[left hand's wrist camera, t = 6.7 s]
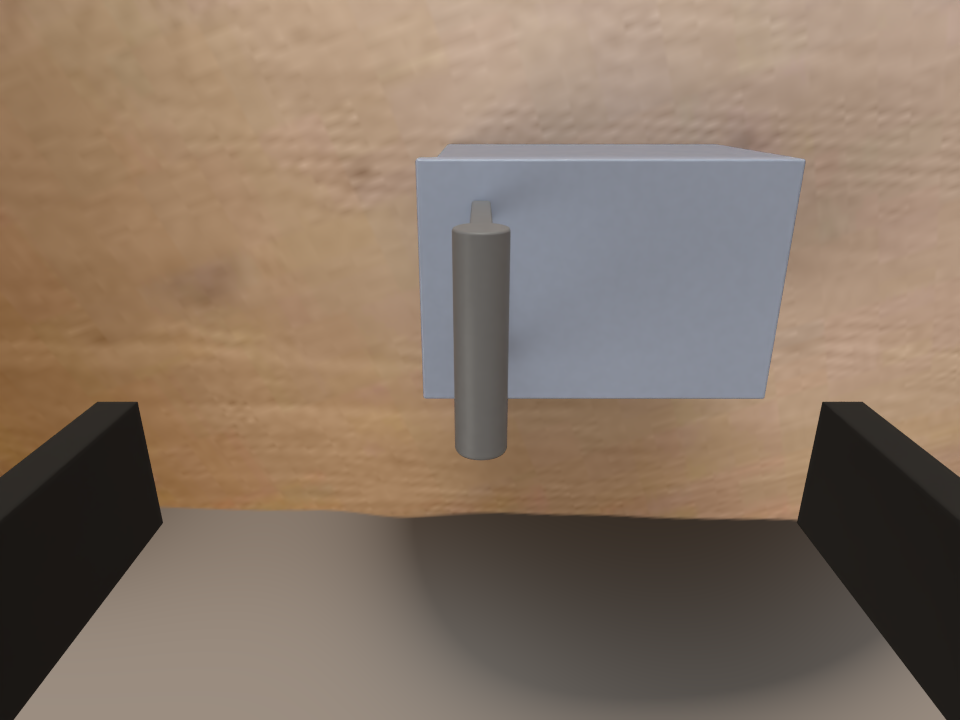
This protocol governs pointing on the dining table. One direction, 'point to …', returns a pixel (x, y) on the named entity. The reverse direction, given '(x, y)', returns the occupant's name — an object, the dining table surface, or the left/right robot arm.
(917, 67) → the dining table surface
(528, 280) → the door
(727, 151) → the chest
